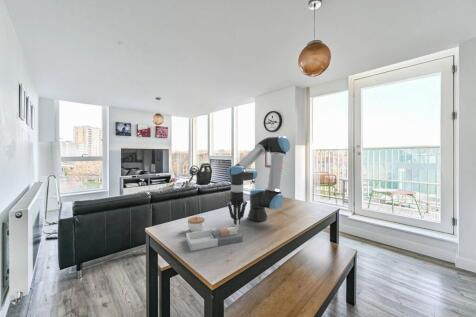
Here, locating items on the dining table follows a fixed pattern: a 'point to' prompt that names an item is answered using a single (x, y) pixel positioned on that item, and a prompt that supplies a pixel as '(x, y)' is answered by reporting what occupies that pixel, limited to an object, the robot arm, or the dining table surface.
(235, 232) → the tile
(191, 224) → the lidded jar
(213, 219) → the dining table surface
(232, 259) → the dining table surface
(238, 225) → the robot arm
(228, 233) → the tile
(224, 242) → the board
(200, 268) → the dining table surface
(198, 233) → the tray
